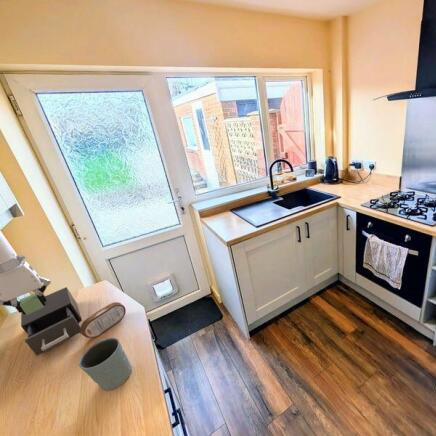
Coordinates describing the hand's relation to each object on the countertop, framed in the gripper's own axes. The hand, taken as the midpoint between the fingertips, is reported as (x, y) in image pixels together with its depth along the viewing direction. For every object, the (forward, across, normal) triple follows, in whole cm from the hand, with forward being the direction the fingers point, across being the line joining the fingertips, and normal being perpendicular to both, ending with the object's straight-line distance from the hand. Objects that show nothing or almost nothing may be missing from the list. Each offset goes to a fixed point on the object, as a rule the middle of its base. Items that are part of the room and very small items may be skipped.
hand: (34, 307), depth 86 cm
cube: (0, 0, 0) cm, 0 cm away
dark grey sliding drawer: (+16, -1, -1) cm, 16 cm away
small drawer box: (+17, 0, -14) cm, 22 cm away
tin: (+17, -15, +8) cm, 24 cm away
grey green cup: (+17, -12, +35) cm, 41 cm away
